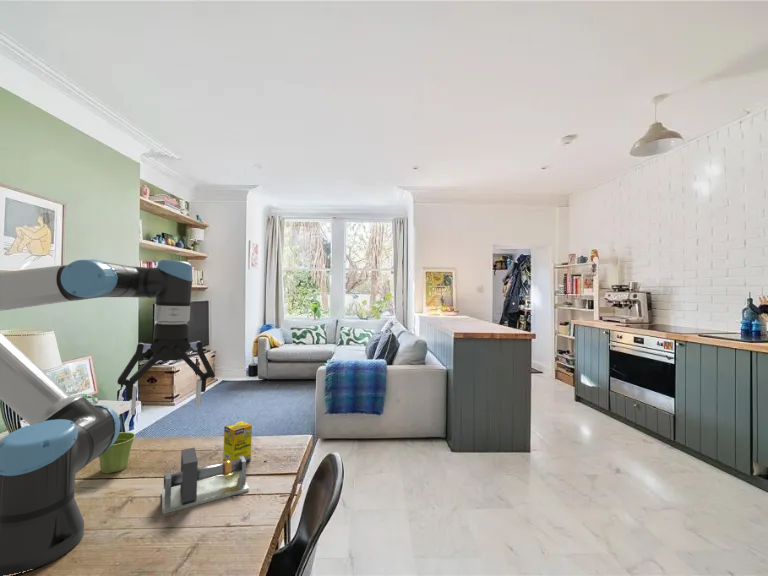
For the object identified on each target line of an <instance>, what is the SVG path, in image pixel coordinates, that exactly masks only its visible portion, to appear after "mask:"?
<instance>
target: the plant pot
mask: <svg viewBox="0 0 768 576" xmlns="http://www.w3.org/2000/svg"><path fill="white" fill-rule="evenodd" d="M135 438H136V433H134V432H123V431H122V432H119V435H118V438H117V439H116V441H115V442H114V444H113V445H112V446H111V447H109V449H108V450H107V451H105V452H104V453H103V454H102V455H101V456H99V457H98V459H99V466H100V472H101V473H102V474H112V473H114V472H120V471H123V470H124V469H126V468H127V467H128V464H129V459H130V454H131V449H132V445H133V443H134V439H135Z"/></svg>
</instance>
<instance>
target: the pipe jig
mask: <svg viewBox="0 0 768 576" xmlns="http://www.w3.org/2000/svg"><path fill="white" fill-rule="evenodd" d="M164 473H165V474H164V475H163V490H161V504H162V505H161V507H162V508H161V515H166V514H168V513H174V512H177V511H180V510H185V509H187V508H191V507H194V506H198V505H202V504H206V503H209V502H213V501H214V502H215V501H216V500H221V499H224V498H227V497H232V496H235V495H239V494H243V493H246V492H249V491H250V488H249V485H248V483H247V481H246V480H247V479H246V478H247V462H246V460H245V458H244V456H239V459H237V460H227V461H223V460H222V462H219V463H216V464H215V463H214V464H210V465H207V466H200V467H197V499H196V500H193V501H189V502H185V503H182V496H181V487H180V485H182V478H183V472H181V471H180V472H175V473H172V471H171V470H170V471H165V472H164Z"/></svg>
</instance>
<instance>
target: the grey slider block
mask: <svg viewBox="0 0 768 576" xmlns="http://www.w3.org/2000/svg"><path fill="white" fill-rule="evenodd" d="M180 453H181V455H180V457H181V458H180V472H183V478H182V485H179V486H180V487H181V496H182V503H185V502H189V501H193V500H196V499H197V482H198V481H197V468H199V467H198V466H199V465H198V461H199V460H198V457H197V451H196V448H195V447H190V448H184V449H181V450H180Z"/></svg>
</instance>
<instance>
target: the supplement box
mask: <svg viewBox="0 0 768 576" xmlns="http://www.w3.org/2000/svg"><path fill="white" fill-rule="evenodd" d="M252 427H253V426H252V424H250V423H248V422H245V421H243V420H241V421H238V422H235V423H234V422H233V423H231V424H226V425H224V429H223V430H224V431H223V432H224V433H223V458H222V462H223V461H227V460H237V459H239V456H244V458H245V460H246V463H247V461H248V462H250V461H252V433H253V432H252V429H253V428H252ZM249 460H250V461H249Z"/></svg>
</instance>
